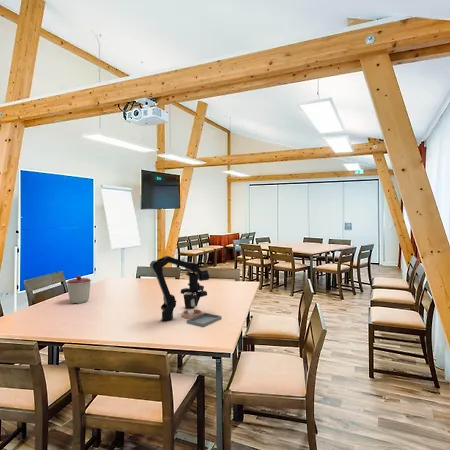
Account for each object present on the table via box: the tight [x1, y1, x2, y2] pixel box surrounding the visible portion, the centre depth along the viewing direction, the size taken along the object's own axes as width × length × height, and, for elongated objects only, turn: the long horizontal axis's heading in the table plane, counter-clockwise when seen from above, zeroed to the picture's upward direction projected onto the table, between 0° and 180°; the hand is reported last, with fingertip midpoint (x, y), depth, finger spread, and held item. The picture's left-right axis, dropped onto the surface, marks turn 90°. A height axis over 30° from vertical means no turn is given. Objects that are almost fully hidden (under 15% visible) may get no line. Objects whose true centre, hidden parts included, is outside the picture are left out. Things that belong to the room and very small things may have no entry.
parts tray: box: [186, 312, 222, 328], centre depth 199 cm, size 18×13×3 cm
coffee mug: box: [182, 292, 196, 310], centre depth 232 cm, size 12×9×10 cm
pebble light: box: [187, 308, 194, 315], centre depth 208 cm, size 4×4×4 cm
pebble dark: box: [191, 299, 197, 308], centre depth 213 cm, size 4×4×4 cm
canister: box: [65, 274, 92, 304], centre depth 254 cm, size 18×18×21 cm
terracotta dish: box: [181, 308, 203, 320], centre depth 210 cm, size 12×12×3 cm
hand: (193, 305), depth 213 cm, fingers closed on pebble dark, 4 cm apart
